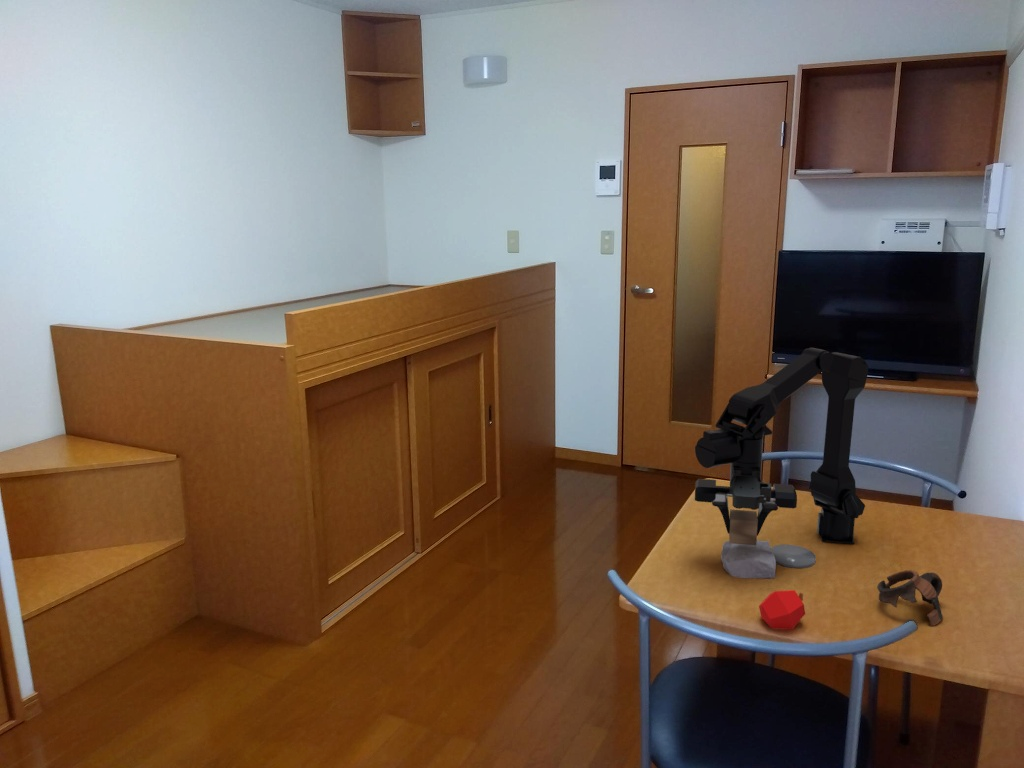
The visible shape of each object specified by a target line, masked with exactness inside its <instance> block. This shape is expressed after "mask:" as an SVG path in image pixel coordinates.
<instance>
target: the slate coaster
mask: <svg viewBox="0 0 1024 768" xmlns="http://www.w3.org/2000/svg"><path fill="white" fill-rule="evenodd" d="M770 549H771V551H772V552H773V554H774V556H775V561H776V565H779V566H783V567H785V568H791V569H792V568H793V569H805V568H810V567H812V566H813V565H815V564H816V562H817V561H816V560H817V556H816V554H815V553H814V552H813V551H812V550H811V549H808V548H806V547H803V546H801V545H800V546H799V545H795V544H786V543H785V544H776V545H773V546H771V547H770Z"/></svg>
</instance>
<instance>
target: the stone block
mask: <svg viewBox="0 0 1024 768" xmlns="http://www.w3.org/2000/svg"><path fill="white" fill-rule="evenodd" d="M770 544H771V543H770V542H769V540H758V539H757V543H756V545H744V544H732V543H729V540H727V541H724V542H723V544H722V549H721V557H720V559H721V562H722V565H723V569H724V570H725V571H726V572H727V573H728V575H730V576H731V577H733V578H741V579H763V580H764V579H769V580H770V579H771V580H773V579H775V577H776V569H777V568H776V567H777V564H776V561H775V556H774V554H773V552H772V551H771V549H770V548H771V547H770V546H771V545H770Z"/></svg>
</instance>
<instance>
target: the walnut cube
mask: <svg viewBox="0 0 1024 768" xmlns="http://www.w3.org/2000/svg"><path fill="white" fill-rule="evenodd" d="M757 515H758V511H756V510H744V509H742V510H741V509H729V517H730V534H728V536H729V537H728V538H729V539H728V541H729V543H732V544H744V545H756V543H757V540H758V538H757V537H758V536H757V525H758V520H757Z"/></svg>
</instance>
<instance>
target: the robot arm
mask: <svg viewBox="0 0 1024 768" xmlns="http://www.w3.org/2000/svg"><path fill="white" fill-rule="evenodd" d="M820 373H821V383H822V385H823V388H824V390H825V392H826V394H827V397H828V401H827V412H826V424H825V434H824V444H823V445H824V446H823V456H822V463H821V465H820V466H819V467H818V468H817V469H816V470H813V471H811V472H810V482H809V483H810V484H809V487H808V490H810V495H811V497H812V498H813V502H814V505H815V506H817V507H820V508H821V509H820V510H821V511H820V512H818V514H817V524H816V525H817V526H816V531H817V535H818V536H819V537H820V540H821V542H825V543H837V544H848V545H854V544H856V543H855V542H856V540H855V538H854V534H855V533H854V532H855V522H856V521H855V520H856V519H858V518H859V516H862V515H863V513H864V510H865V508H866V505H865V503H864V502H863V500H862V499H861V498H860V497H859V496H858V495H857V494H856V491H857V490H856V488H857V487H856V479H855V478H854V475H853V473H852V471H851V468H850V457H851V444H852V435H853V433H852V432H853V425H854V413H855V404H856V398H857V397H858V396H859V394H860V393H862V391H863V390H864V389H865V387H866V383H867V379H868V374H869V365H868V362H867V361H866V360H865V359H864V358H862V357H861V356H856V355H851V354H847V353H842V352H829V351H828V350H824V349H820V348H815V347H809V348H805V349H803V351H802V352H801V353H800V355H799V356H797V357H796V358H794V359H793V360H792V361H791V362H789V363H788V364H786V366H784V367H783V368H781V369H780V370H779V371H777V372H776V373H775V374H773V375H772V376H770V377H769V378H768V379H766V380H765V381H764V382H762V383H760V384H756V385H752V386H748V387H746V388H743V389H741V390H740V391H737V392H735V393H734V394H733V395H732V396H731V397H730V398H729V400H728V403H727V405H726V406H725V408H724V410H723V411H722V414H721V415H720V417H719V419H718V420H717V422H716V424H715V428H716V429H715V430H704V431H703V432H702V433H703V435H702V436H703V437H701V438H699V439H698V440H697V441H696V445H695V447H694V453H695V458H696V460H697V461H698V463H699V464H700V466H701V467H703V468H706V469H711V468H715V467H719V466H723V465H724V466H725V465H729V464H730V469H729V470H730V471H729V486H726V485H717V480H716V479H709V478H708V479H707V478H706V479H705V478H698V479H697V480H696V481H695V484H694V485H695V488H694V501H695V502H699V503H711V505H712V506H713V507H717V508H718V509H719V511H720V514H721V516H722V519H723V521H724V525H725V528H726V531H727V534H728V535H729V534H730V509H729V501H728V500H729V499H728V497H730V498H732V504H731V505H732V506H733V508H735V509H737V510H741V509H750V510H751V511H756V510H757V520H758V525H757V537H758V536H759V534H760V532H761V530H762V527H763V525H764V523H765V521H766V520H767V517H768V516H769V514H771V512H773V511H778V510H779V508H783V509H784V508H785V509H795V508H798V507H797V505H798V503H797V502H798V495H797V491H796V487H794V485H793V484H784V483H773V487H772V483H769V482H764V481H762V468H763V467H762V465H763V449H764V448H763V445H764V437H765V436H769V435H772V434H773V430H771V429H770V428H769V427H768V426H767V424H768V423H769V422H770V421H771V419H772V418H774V417H775V415H776V414H777V413H778V409H779V406H780V405H781V403H782V402H784V400H786V399H787V398H789V397H790V396H792V394H794V393H795V392H796V391H798V390H799V389H800V388H802V387H803V386H805V385H806V384H807V383H809V382H810V381H811V380H812V379H814V378H815V377H816V376H817V375H819V374H820ZM733 421H734V422H737V423H738V424H737V423H734V422H733ZM740 424H742V425H745V426H742V425H740Z"/></svg>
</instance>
